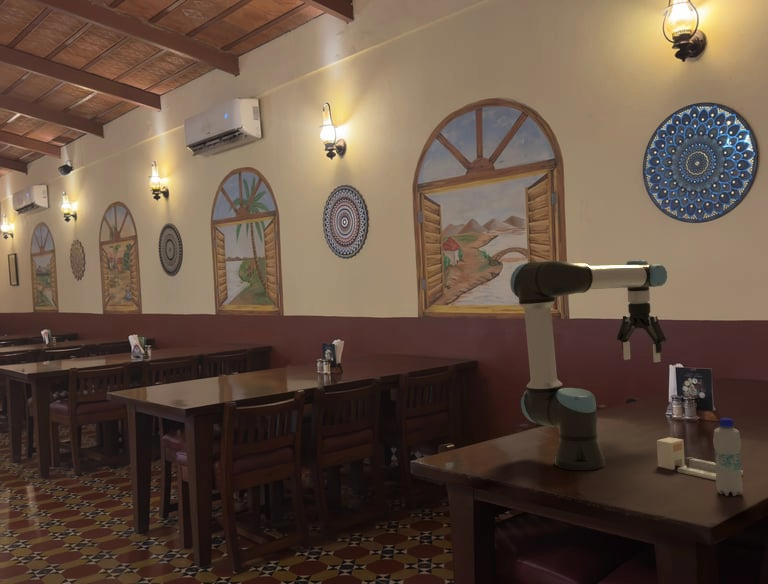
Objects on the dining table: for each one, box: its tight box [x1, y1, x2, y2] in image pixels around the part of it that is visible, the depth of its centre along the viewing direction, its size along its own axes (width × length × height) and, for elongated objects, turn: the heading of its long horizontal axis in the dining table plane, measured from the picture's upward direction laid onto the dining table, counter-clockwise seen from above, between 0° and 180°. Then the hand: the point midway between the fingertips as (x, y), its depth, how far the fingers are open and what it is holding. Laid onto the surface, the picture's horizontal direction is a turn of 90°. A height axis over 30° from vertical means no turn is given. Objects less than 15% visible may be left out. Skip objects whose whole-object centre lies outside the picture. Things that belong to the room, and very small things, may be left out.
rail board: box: [677, 456, 744, 481], centre depth 202 cm, size 10×14×3 cm
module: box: [656, 436, 686, 470], centre depth 211 cm, size 6×5×8 cm
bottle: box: [712, 417, 744, 497], centre depth 183 cm, size 7×7×20 cm
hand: (641, 360), depth 253 cm, fingers open, 13 cm apart
